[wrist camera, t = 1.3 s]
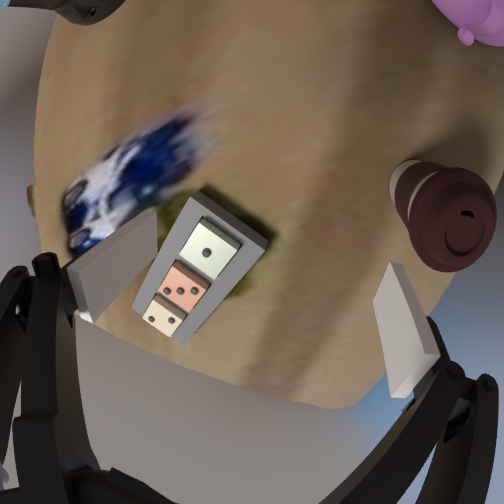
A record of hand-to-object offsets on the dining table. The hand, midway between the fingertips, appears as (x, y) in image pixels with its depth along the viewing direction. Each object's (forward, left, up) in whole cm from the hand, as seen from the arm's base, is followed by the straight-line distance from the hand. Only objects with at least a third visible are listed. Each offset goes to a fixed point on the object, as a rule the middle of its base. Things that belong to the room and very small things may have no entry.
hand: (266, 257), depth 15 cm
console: (-3, -23, -22) cm, 32 cm away
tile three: (-3, -23, -20) cm, 31 cm away
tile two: (-3, -31, -20) cm, 37 cm away
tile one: (-3, -14, -20) cm, 25 cm away
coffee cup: (+13, +9, -22) cm, 27 cm away
